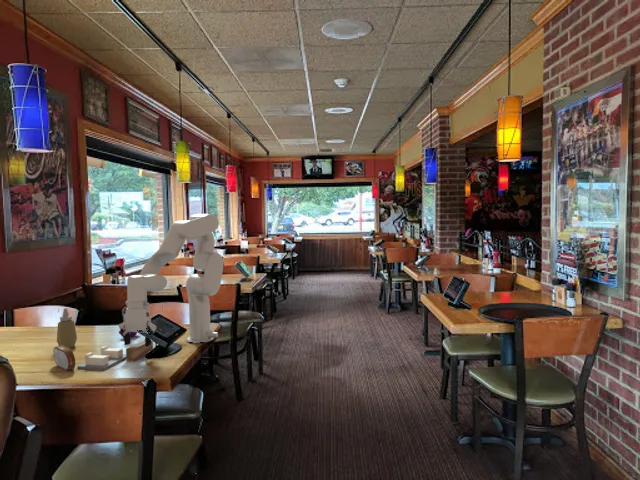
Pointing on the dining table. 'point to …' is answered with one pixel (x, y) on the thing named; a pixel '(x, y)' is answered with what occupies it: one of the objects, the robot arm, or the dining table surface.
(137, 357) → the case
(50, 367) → the dining table surface
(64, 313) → the squeeze bottle
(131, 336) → the perfume bottle
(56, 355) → the tin
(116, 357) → the stand
